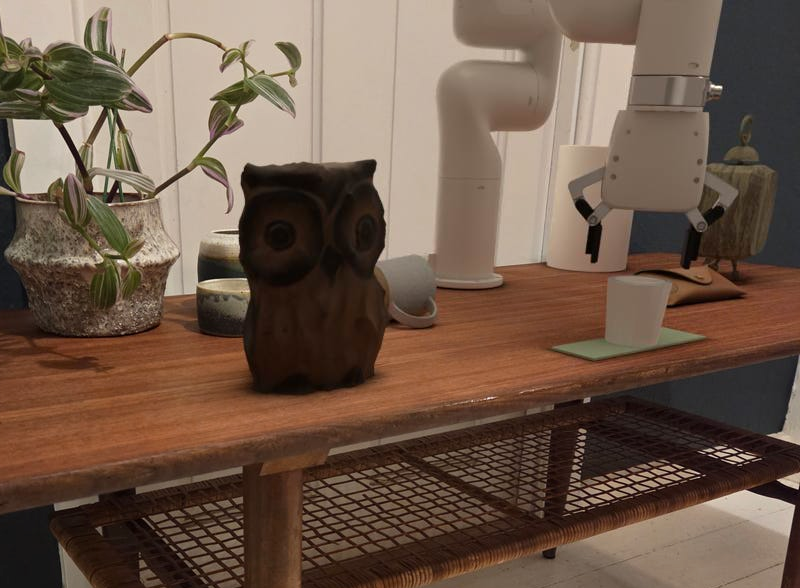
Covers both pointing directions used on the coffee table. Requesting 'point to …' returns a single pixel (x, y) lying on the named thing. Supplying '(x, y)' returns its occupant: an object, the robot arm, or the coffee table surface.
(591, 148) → the canister
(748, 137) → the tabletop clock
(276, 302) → the owl
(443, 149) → the robot arm
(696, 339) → the edge strip
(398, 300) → the ceramic mug
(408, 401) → the coffee table surface
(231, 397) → the coffee table surface
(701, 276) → the sunglasses case
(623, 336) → the white tapered cup
